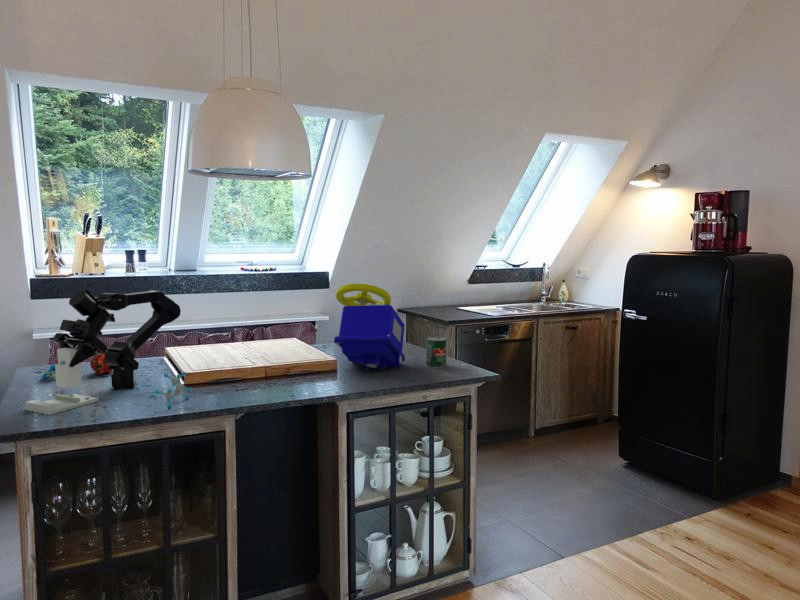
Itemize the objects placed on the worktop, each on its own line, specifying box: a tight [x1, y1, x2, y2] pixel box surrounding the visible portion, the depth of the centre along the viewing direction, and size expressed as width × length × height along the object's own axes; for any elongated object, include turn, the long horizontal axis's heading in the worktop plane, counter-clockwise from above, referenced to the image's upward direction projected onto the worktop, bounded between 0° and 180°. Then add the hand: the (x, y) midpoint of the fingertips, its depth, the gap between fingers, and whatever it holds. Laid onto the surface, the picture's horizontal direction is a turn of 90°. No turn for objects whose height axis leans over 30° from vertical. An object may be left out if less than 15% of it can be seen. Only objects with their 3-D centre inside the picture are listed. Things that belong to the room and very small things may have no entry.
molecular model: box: [154, 371, 194, 409], centre depth 190 cm, size 12×14×15 cm
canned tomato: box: [425, 336, 447, 369], centre depth 242 cm, size 8×8×11 cm
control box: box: [333, 282, 406, 371], centre depth 239 cm, size 26×27×30 cm
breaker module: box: [54, 347, 83, 389], centre depth 188 cm, size 5×6×12 cm
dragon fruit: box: [89, 352, 113, 376], centre depth 226 cm, size 8×8×12 cm
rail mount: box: [24, 393, 99, 416], centre depth 186 cm, size 16×11×2 cm
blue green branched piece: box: [40, 362, 56, 381], centre depth 219 cm, size 11×6×10 cm
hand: (63, 365), depth 187 cm, fingers closed on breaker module, 5 cm apart
